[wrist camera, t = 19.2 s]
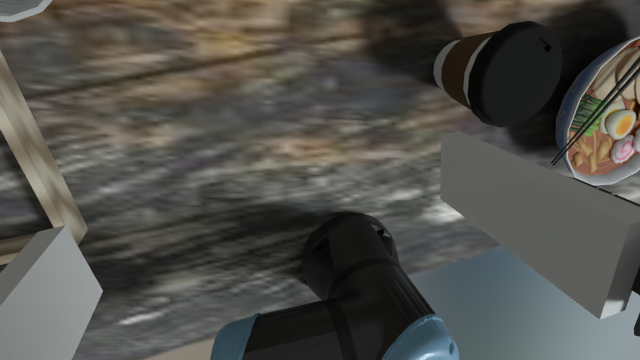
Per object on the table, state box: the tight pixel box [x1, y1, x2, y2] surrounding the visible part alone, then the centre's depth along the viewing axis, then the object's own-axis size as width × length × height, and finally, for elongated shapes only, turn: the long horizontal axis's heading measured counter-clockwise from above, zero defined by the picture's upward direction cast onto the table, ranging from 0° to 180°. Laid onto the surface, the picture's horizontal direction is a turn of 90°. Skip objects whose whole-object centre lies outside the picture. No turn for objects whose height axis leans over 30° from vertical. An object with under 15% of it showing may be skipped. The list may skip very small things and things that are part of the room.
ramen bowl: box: [551, 35, 640, 186], centre depth 50 cm, size 25×23×8 cm
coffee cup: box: [433, 21, 563, 127], centre depth 40 cm, size 11×11×12 cm
